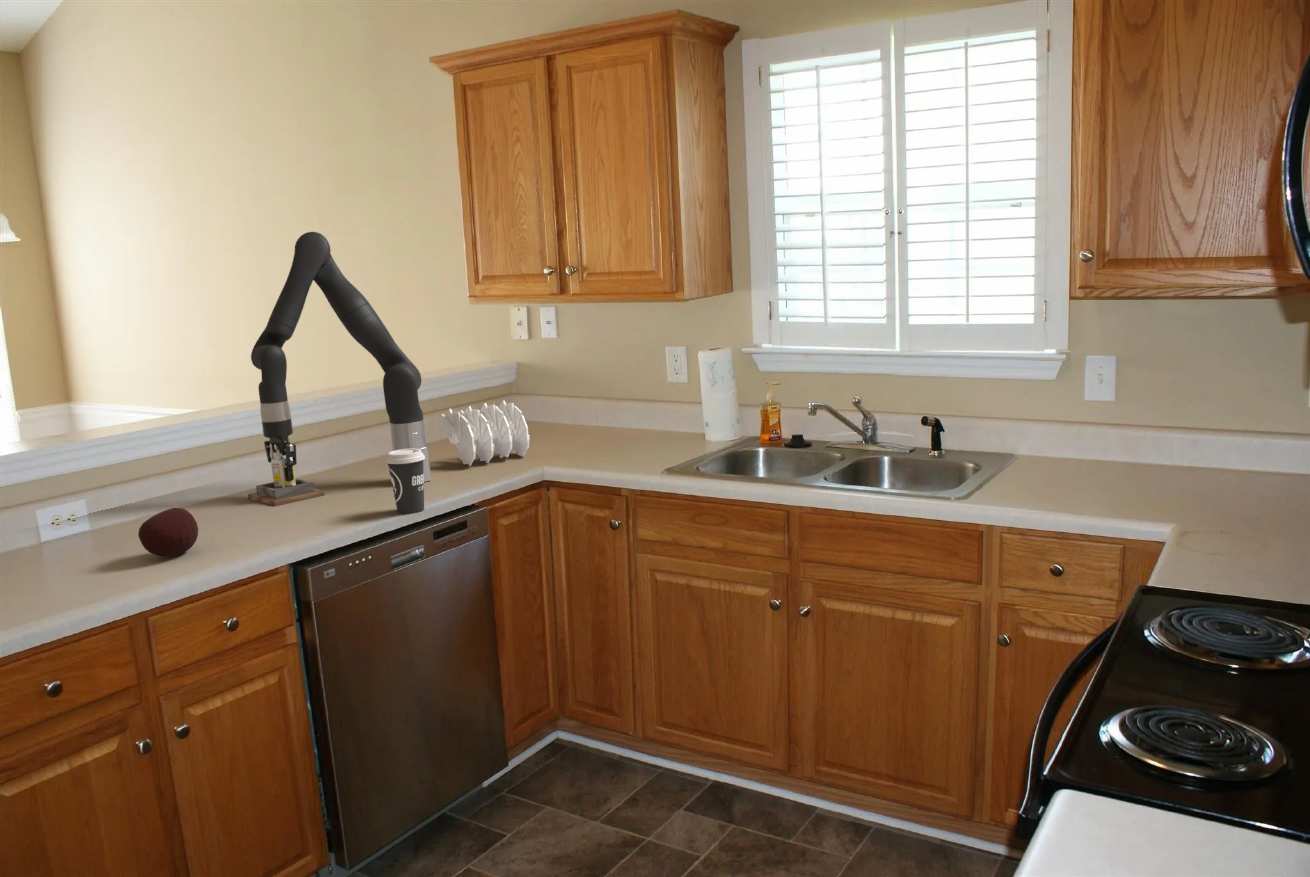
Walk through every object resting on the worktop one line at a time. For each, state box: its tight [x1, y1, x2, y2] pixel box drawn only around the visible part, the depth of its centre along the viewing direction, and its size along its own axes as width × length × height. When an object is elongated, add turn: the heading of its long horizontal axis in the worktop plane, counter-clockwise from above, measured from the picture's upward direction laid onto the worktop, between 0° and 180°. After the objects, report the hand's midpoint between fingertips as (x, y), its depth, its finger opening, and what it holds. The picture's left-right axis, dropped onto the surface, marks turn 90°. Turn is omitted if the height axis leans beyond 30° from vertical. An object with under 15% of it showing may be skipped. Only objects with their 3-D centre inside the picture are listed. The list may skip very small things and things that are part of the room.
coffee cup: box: [385, 449, 425, 515], centre depth 257 cm, size 10×10×15 cm
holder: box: [247, 477, 325, 507], centre depth 283 cm, size 16×14×4 cm
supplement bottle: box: [270, 452, 296, 489], centre depth 282 cm, size 6×6×10 cm
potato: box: [137, 507, 199, 557], centre depth 229 cm, size 11×13×10 cm
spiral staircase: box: [439, 400, 531, 467], centre depth 314 cm, size 18×18×25 cm
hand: (284, 479), depth 282 cm, fingers closed on supplement bottle, 5 cm apart
